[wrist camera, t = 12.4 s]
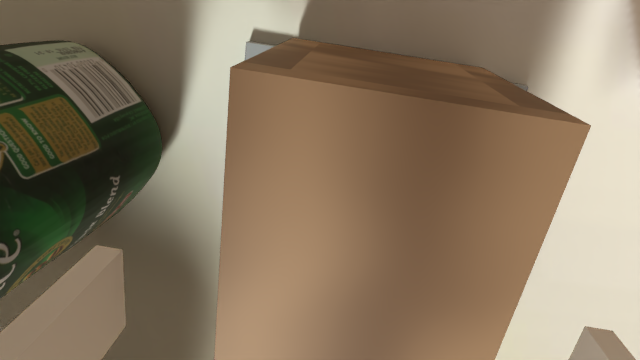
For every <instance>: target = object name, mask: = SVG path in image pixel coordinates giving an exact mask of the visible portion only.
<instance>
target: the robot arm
mask: <svg viewBox="0 0 640 360" xmlns="http://www.w3.org/2000/svg"><path fill="white" fill-rule="evenodd" d="M125 327H126V312H125V289H124V267H123V249H117V248H111V247H105V246H99V245H96V246H95V247H94V248H92V249H91V250H90V251H89V252H88V253H87V254H86V255H85V256H84V257H83V258H81V259H80V260H79V261H78V262H77V263H76V264H75V265H74V266H73V267H72V268H70V269H69V270H68V271H67V272H66V273H65V274H64V275H63V276H62V277H61V278H60V279H58V280H57V281H56V282H55V283H54V284H53V285H52V286H51V287H50V288H49V289H47V290H46V291H45V292H44V293H43V294H42V295H41V296H40V297H39V298H38V299H36V300H35V301H34V302H33V303H32V304H31V305H30V306H29V307H28V308H27V309H25V310H24V311H23V312H22V313H21V314H20V315H19V316H18V317H17V318H16V319H15V320H13V321H12V322H11V323H10V324H9V325H8V326H7V327H6V328H5V329H4V330H2V331H1V332H0V360H102V358H103V357H104V356H105V354H106V353H107V351H108V350H109V349H110V347H111V346H112V344H113V343H114V342H115V340H116V339H117V338H118V336H119V335H120V333H121V332H122V331H123V329H124V328H125ZM569 360H636V359H635V358H634V357H633V356H632V354H631V353H630V352H629V351H628V349H627V348H626V347H625V346H624V345H623V343H622V342H621V341H620V340H619V338H618V337H617V336H616V335H615V333H614V332H613V331H610V330H604V329H598V328H592V327H586V326H585V327H584V329H583V331H582V334H581V336H580V338H579V340H578V342H577V344H576V346H575V348H574V350H573V352H572V354H571V356H570V358H569Z"/></svg>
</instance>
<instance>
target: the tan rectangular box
mask: <svg viewBox="0 0 640 360" xmlns="http://www.w3.org/2000/svg"><path fill="white" fill-rule="evenodd" d="M590 127H591V125H589V124H587V123H585V122H583V121H581V120H580V119H578V118H576V117H574V116H572V115H570V114H568V113H566V112H565V111H563V110H561V109H559V108H557V107H555V106H553V105H551V104H550V103H548V102H546V101H544V100H542V99H540V98H538V97H536V96H535V95H533V94H531V93H529V92H527V91H525V90H523V89H521V88H520V87H518V86H516V85H514V84H512V83H510V82H508V81H507V80H505V79H503V78H501V77H499V76H497V75H495V74H493V73H492V72H490V71H488V70H486V69H484V68H480V67H474V66H468V65H461V64H455V63H449V62H442V61H436V60H430V59H423V58H417V57H411V56H404V55H398V54H392V53H385V52H379V51H373V50H366V49H360V48H354V47H347V46H341V45H335V44H329V43H322V42H316V41H310V40H303V39H297V38H292V39H289V40H287V41H285V42H283V43H281V44H279V45H277V46H275V47H273V48H270V49H268V50H266V51H264V52H262V53H260V54H258V55H256V56H254V57H251V58H249V59H247V60H245V61H243V62H241V63H239V64H237V65H235V66H232V67H231V68H230V86H229V104H228V122H227V140H226V158H225V176H224V193H223V211H222V229H221V247H220V265H219V283H218V301H217V319H216V337H215V355H214V360H495V358H496V355H497V353H498V350H499V348H500V345H501V343H502V341H503V338H504V336H505V333H506V331H507V328H508V326H509V324H510V321H511V319H512V316H513V314H514V311H515V309H516V307H517V304H518V302H519V299H520V297H521V294H522V292H523V290H524V287H525V285H526V282H527V280H528V277H529V275H530V273H531V270H532V268H533V265H534V263H535V260H536V258H537V256H538V253H539V251H540V248H541V246H542V243H543V241H544V239H545V236H546V234H547V231H548V229H549V226H550V224H551V222H552V219H553V217H554V214H555V212H556V209H557V207H558V205H559V202H560V200H561V197H562V195H563V192H564V190H565V188H566V185H567V183H568V180H569V178H570V175H571V173H572V171H573V168H574V166H575V163H576V161H577V158H578V156H579V154H580V151H581V149H582V146H583V144H584V141H585V139H586V137H587V134H588V132H589V129H590Z"/></svg>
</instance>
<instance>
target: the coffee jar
mask: <svg viewBox="0 0 640 360" xmlns="http://www.w3.org/2000/svg"><path fill="white" fill-rule="evenodd" d="M161 153H162V141H161V135H160V131H159V128H158V125H157V123H156V121H155V119H154V117H153V115H152V113H151V112H150V110H149V108H148V107H147V105H146V104H145V102H144V101H143V99H142V98H141V96H140V95H139V94H138V93H137V92H136V90H135V89H134V88H133V87H132V85H131V84H130V83H129V82H128V81H127V80H126V79H125V78H124V77H123V75H122V74H121V73H119V72H118V71H117V70H116V69H115V68H114V67H113V66H112V65H111V64H109V63H108V62H107V61H106V60H104V59H103V58H102V57H101V56H99V55H98V54H97V53H95V52H94V51H92V50H91V49H89V48H87V47H85V46H83V45H80V44H77V43H74V42H71V41H43V42H29V43H18V44H8V45H0V298H2V297H3V296H5V295H6V294H7V293H9V292H10V291H11V290H12V289H14V288H15V287H16V286H18V285H19V284H20V283H22V282H23V281H25V280H26V279H27V278H29V277H30V276H31V275H33V274H34V273H35V272H37V271H38V270H40V269H41V268H42V267H44V266H45V265H47V264H48V263H49V262H51V261H53V260H54V259H55V258H56V257H58V256H59V255H61V254H62V253H64V252H65V251H66V250H68V249H69V248H71V247H72V246H74V245H75V244H76V243H78V242H79V241H80V240H82V239H83V238H84V237H86V236H87V235H89V234H90V233H91V232H93V231H94V230H95V229H96V228H98V227H99V226H100V225H102V224H103V223H105V222H106V221H107V220H109V219H110V218H111V217H113V216H114V215H115V214H116V213H118V212H119V211H120V210H121V209H122V208H123V207H124V206H125V205H126V204H127V203H129V202H130V201H131V200H132V199H133V198H134V197H135V196H136V195H137V194H138V192H139V191H140V190H141V189H142V188H143V187H144V186H145V184H146V183H147V182H148V180H149V179H150V178H151V177H152V175H153V174H154V172H155V171H156V169H157V167H158V165H159V162H160V159H161Z"/></svg>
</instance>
